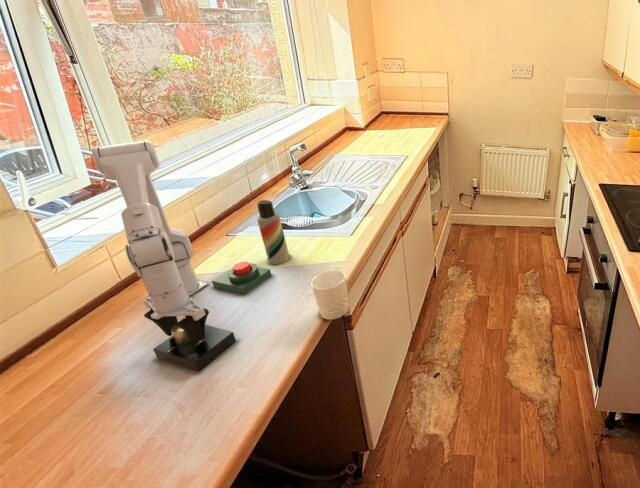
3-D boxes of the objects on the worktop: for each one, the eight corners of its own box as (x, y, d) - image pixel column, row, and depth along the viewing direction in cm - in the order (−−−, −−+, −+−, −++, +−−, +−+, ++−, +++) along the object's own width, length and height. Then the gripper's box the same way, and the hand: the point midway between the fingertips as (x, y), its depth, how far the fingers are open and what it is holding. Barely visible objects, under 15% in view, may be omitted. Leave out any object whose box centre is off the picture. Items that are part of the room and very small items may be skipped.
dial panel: (157, 359, 88) (152, 348, 87) (196, 330, 96) (192, 320, 95) (199, 372, 85) (194, 361, 84) (236, 341, 93) (232, 331, 92)
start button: (231, 274, 111) (229, 268, 110) (243, 266, 114) (241, 260, 113) (242, 277, 110) (240, 270, 109) (254, 268, 113) (252, 262, 112)
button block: (213, 287, 111) (209, 275, 109) (241, 269, 119) (238, 258, 117) (245, 294, 108) (241, 282, 107) (271, 275, 116) (268, 264, 115)
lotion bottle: (264, 261, 123) (248, 203, 115) (282, 252, 127) (267, 195, 119) (276, 266, 120) (260, 207, 112) (293, 257, 125) (279, 199, 117)
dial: (171, 342, 88) (165, 329, 87) (189, 330, 92) (183, 317, 90) (185, 346, 87) (179, 333, 86) (202, 333, 91) (197, 320, 89)
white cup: (341, 297, 108) (335, 266, 104) (357, 309, 104) (351, 278, 99) (312, 312, 102) (305, 280, 98) (328, 326, 98) (320, 293, 94)
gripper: (119, 292, 82) (143, 342, 88) (172, 306, 79) (193, 357, 84) (155, 273, 88) (175, 320, 94) (206, 285, 85) (224, 333, 90)
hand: (186, 336), depth 90 cm, fingers open, 7 cm apart
